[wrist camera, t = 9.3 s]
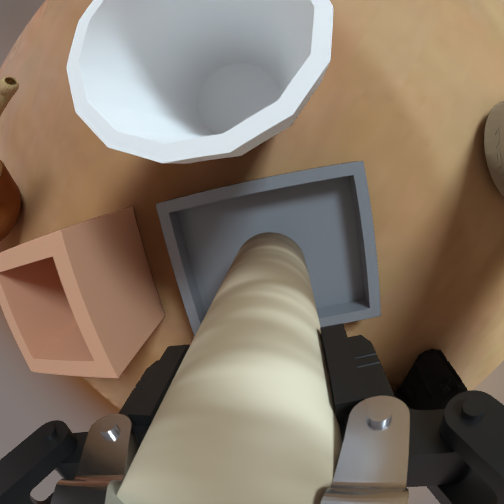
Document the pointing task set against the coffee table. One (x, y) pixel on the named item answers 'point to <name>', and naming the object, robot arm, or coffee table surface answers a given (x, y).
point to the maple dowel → (246, 396)
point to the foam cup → (196, 73)
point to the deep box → (81, 297)
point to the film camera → (430, 382)
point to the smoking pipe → (3, 186)
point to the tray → (284, 222)
